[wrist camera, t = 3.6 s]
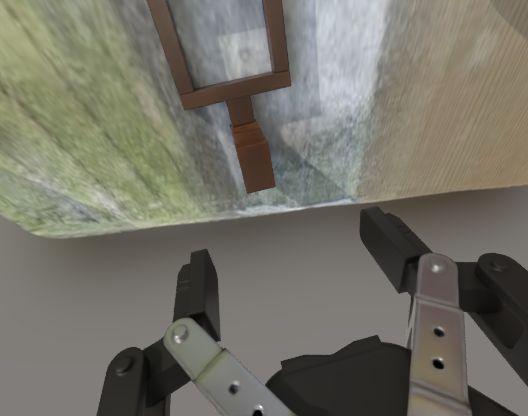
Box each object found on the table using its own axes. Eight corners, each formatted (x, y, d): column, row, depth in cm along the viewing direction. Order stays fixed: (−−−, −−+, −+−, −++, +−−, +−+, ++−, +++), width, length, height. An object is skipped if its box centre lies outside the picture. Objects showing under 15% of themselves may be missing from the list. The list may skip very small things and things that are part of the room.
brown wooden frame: (206, 171, 27) (207, 204, 22) (138, -33, 18) (114, -52, 13) (295, 150, 27) (314, 177, 22) (271, -60, 18) (294, -88, 14)
